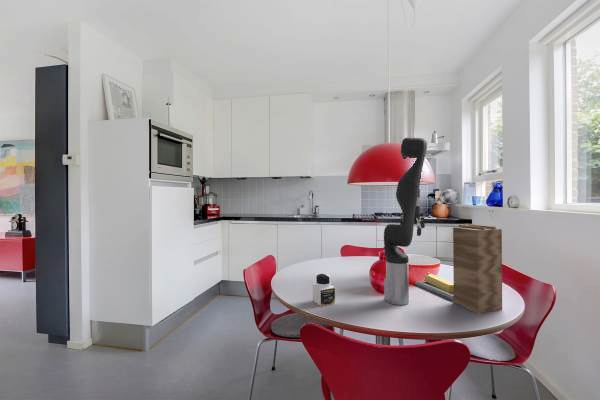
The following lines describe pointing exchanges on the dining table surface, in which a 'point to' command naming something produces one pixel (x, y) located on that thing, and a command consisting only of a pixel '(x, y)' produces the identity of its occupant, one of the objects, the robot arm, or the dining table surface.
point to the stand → (477, 267)
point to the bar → (440, 283)
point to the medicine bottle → (323, 290)
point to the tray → (435, 290)
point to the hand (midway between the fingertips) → (412, 235)
